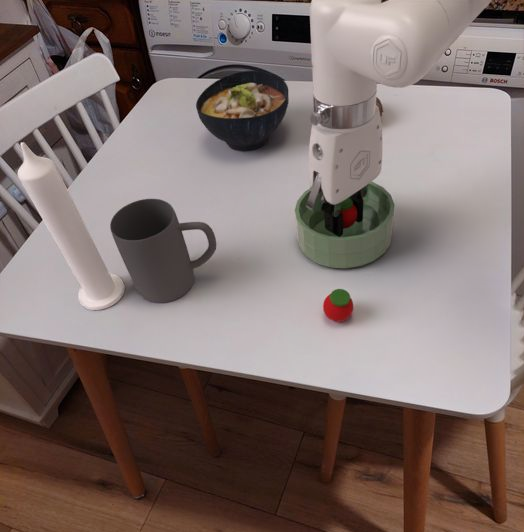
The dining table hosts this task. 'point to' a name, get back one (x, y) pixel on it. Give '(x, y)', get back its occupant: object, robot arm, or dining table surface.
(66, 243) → the candle
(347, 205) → the red ball green cap
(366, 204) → the fruit bowl
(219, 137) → the bowl
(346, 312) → the strawberry
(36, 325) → the dining table surface
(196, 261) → the mug
